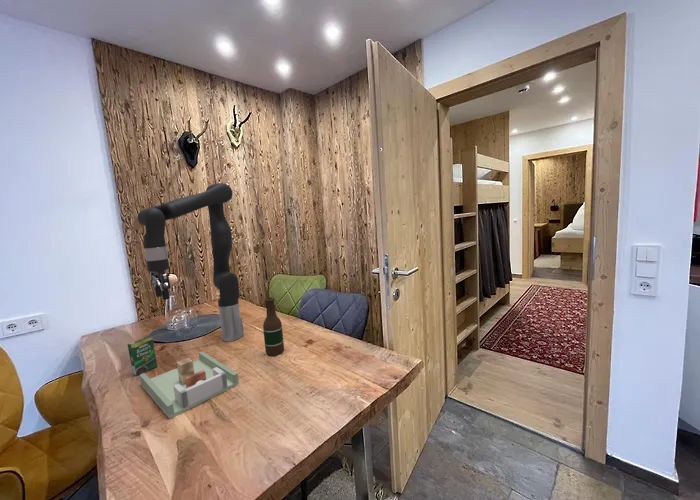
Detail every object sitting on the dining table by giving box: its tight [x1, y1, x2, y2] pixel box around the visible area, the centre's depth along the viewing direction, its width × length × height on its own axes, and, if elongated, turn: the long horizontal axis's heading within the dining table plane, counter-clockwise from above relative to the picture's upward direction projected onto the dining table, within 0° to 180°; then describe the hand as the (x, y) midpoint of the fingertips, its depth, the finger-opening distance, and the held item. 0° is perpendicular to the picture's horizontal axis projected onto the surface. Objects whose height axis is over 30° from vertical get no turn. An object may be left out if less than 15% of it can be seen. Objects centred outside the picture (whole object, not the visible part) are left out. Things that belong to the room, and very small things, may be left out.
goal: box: [173, 367, 228, 409], centre depth 97 cm, size 14×7×5 cm, turn 139°
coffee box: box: [127, 335, 158, 377], centre depth 116 cm, size 8×3×13 cm, turn 150°
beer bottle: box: [262, 297, 285, 357], centre depth 124 cm, size 8×8×24 cm
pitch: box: [139, 350, 240, 420], centre depth 104 cm, size 22×30×4 cm
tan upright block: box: [176, 357, 206, 389], centre depth 102 cm, size 6×12×7 cm, turn 49°
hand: (162, 297), depth 119 cm, fingers open, 8 cm apart
